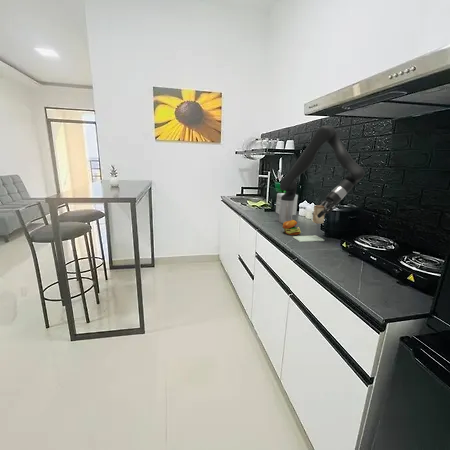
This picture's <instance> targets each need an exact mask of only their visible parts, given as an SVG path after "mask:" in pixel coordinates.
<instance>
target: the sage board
mask: <svg viewBox="0 0 450 450" xmlns="http://www.w3.org/2000/svg"><path fill="white" fill-rule="evenodd" d="M292 238H293V239H295V240H296V241H298V242H299V243H310V242H312V243H313V242H325V239H324V238H323V237H320V236H318V235H299V236H298V235H292Z"/></svg>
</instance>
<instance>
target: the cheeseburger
mask: <svg viewBox="0 0 450 450" xmlns="http://www.w3.org/2000/svg"><path fill="white" fill-rule="evenodd" d="M297 225H298V222H297V221H296V220H295V219H292V220H291V221H286V222H284V223H282V228H283V229H284V233H285V234H286V235H288V236H298V235H300V234H301V233H302V231H301V228H300V227H299V226H297Z"/></svg>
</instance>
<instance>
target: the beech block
mask: <svg viewBox="0 0 450 450" xmlns="http://www.w3.org/2000/svg"><path fill="white" fill-rule="evenodd" d="M323 209H324V206H320V205H317V204H316V205H314V206H313V212H312V213H313V214H312V223H315V224H319V225H320V224H324V222H325V214H324V215H322V216H321V217H320V218H318V216H317V215H318V214H319V213H320V212H321V211H322V210H323Z"/></svg>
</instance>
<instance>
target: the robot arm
mask: <svg viewBox="0 0 450 450" xmlns="http://www.w3.org/2000/svg"><path fill="white" fill-rule="evenodd" d="M325 143H328V145H329V147H331V149H332V150H333V153H334V155H335V158H336V160H337V162H338V163H339V165H340V166H341V168H342V169H343V170H346V171H348V172H349V174H347V176H346V177H345V178H344V179H343V180H342V181H341V182H340V183H338V185H336V187H334V188H333V189H332V190H331V191H330V192H329V193H328V194H327V195H326V196H325V200H323V201H322V200H319V201H318V203H317V204H316V205H320V206H324V209H323V210H322V211H321V212H320V213H319V214H318V215H317V216H318V218H320V217H321V216H322V215H324V214H330V213H331V212H332V211H335V210H336V208H337V206H338V205H337V204H339V203H340V202H341V201H342V200H343V199H344V197H346V195H347V194H348V193H350V191H351V190H352V189H353V187H355V185H357V184H358V183H359V182H360V181H361V180H362V179H364V178H365V175H366V174H365V173H366V172H365V170H364V169H363V167H362V166H361V165H360V164H358V162H356V161H355V160H354V159H353V157H352V156H351V154H349V152H348V150H347V149H346V147H345V146H344V144H343V143H342V141H341V139H340V137H339V135H338V132H337V131H336V129H335V127H333V125H322V126H320V127H318V128H317V130H316V132H315V133H314V134H313V137H312V139H311V140H310V142H309V143H308V144H307V146H306V148H305V149H304V150H303V151H302V153H301V155H300V156H299V157H298V158H297V160H296V161H295V163H294V164H293V166H292V167H291V168H290V170H289V171H287V173H286V174H285V176H284V177H283V178H282V179H281V181H280V182H279V188H280V190H281V191H284V193H285V194H284V195H282V197H281V208H280V210H279V214H278V222H279V223H280V224H283V223H284V222H286V221H291V220H293V216H294V215H293V205H294V198H295V196H296V195H297V188H298V181H297V178H298V177H299V176H301V175H302V174H303V173H305V172H306V171H307V170H308V169H309V168H310V167H311V166H312V164H313V163H314V161H315V159H316V155H317V154H318V151H319V150H320V149H321V147H322V146H323V145H324V144H325ZM336 205H337V206H336ZM311 214H312V215H313V212H312V213H311ZM324 216H325V215H324Z"/></svg>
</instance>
